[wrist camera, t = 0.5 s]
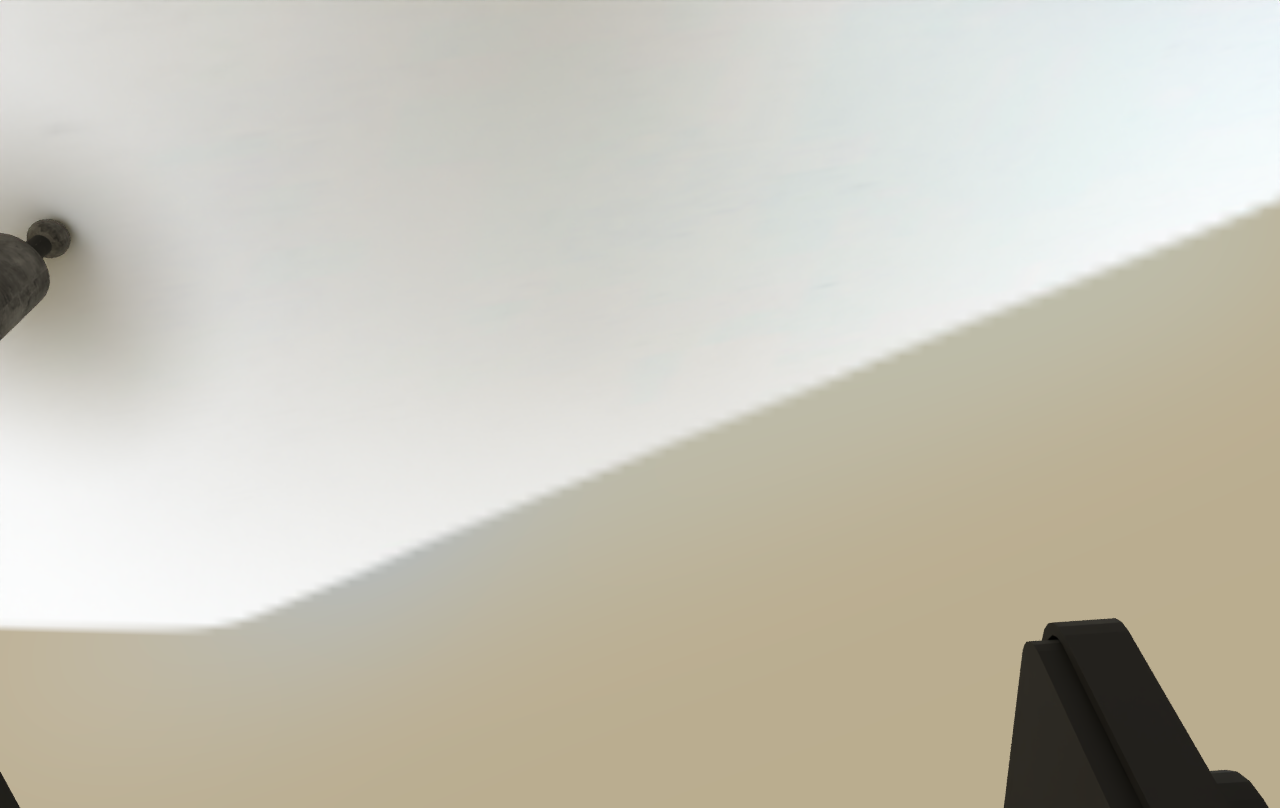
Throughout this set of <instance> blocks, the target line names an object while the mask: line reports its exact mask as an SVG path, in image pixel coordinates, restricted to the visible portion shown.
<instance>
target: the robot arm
mask: <svg viewBox="0 0 1280 808" xmlns="http://www.w3.org/2000/svg"><path fill="white" fill-rule="evenodd" d="M0 808H20V807H19V805H18V803H17V801H16V800H15V798H14V796H13V794H12V792H11V791H10V789H9V787H8V785H7V783H6V781H5V779H4V778H3V776H2V774H1V772H0ZM1004 808H1268V806H1267V805H1266V803H1265V801H1264V799H1263V798H1262V797H1261V795H1260V794H1259V793H1258V791H1257V790H1256V789H1255V787H1254V786H1253V785H1252V783H1251V782H1250V781H1249V780H1247V779H1246V778H1245V777H1244V776H1242V775H1241V774H1240V773H1238V772H1236V771H1229V770H1218V771H1209V769H1208V767H1207V765H1206V764H1205V762H1204V760H1203V759H1202V757H1201V755H1200V753H1199V752H1198V750H1197V748H1196V747H1195V745H1194V743H1193V741H1192V740H1191V738H1190V736H1189V734H1188V733H1187V731H1186V729H1185V728H1184V726H1183V724H1182V722H1181V721H1180V719H1179V717H1178V716H1177V714H1176V712H1175V710H1174V709H1173V707H1172V705H1171V704H1170V702H1169V700H1168V698H1167V697H1166V695H1165V693H1164V691H1163V690H1162V688H1161V686H1160V685H1159V683H1158V681H1157V679H1156V678H1155V676H1154V674H1153V672H1152V671H1151V669H1150V667H1149V666H1148V664H1147V662H1146V660H1145V659H1144V657H1143V655H1142V654H1141V652H1140V650H1139V648H1138V647H1137V645H1136V643H1135V642H1134V640H1133V638H1132V636H1131V634H1130V633H1129V631H1128V630H1127V628H1126V627H1125V626H1124V624H1123V623H1122V622H1121V621H1119V620H1118V619H1116V618H1112V619H1099V620H1083V621H1070V622H1055V623H1049V624H1048V625H1047V626H1046V628H1045V629H1044V634H1043V638H1042V641H1029V642H1026V644H1025V645H1024V648H1023V653H1022V661H1021V669H1020V677H1019V686H1018V694H1017V702H1016V711H1015V719H1014V727H1013V737H1012V744H1011V752H1010V761H1009V770H1008V777H1007V786H1006V795H1005V803H1004Z"/></svg>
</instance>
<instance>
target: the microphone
mask: <svg viewBox="0 0 1280 808" xmlns="http://www.w3.org/2000/svg"><path fill="white" fill-rule="evenodd" d="M69 245H70V235H69V232H68V230H67V229H66V228H65V227H64V226H63V225H62V224H61V223H59V222H57V221H54V220H50V219H45V220H40V221H37V222H35V223H34V224H33V225H32V226H31V227H30V228H29V230H28V233H27V241H26V242H25V241H23V240H21V239H19V238H17V237H14V236H12V235H8V234H3V233H0V340H1V339H2V338H3V337H4V336H5V335H6V334H7V333H8V332H9V331H10V330H11V329H12V328H14V327H15V326H16V325H17V324H18V323H19V322H20V321H21V320H22V319H23V318H24V317H25V316H26V315H27V314H28V313H29V312H30V311H31V310H32V309H33V308H34V307H35V306H36V305H37V304H38V303H39V302H40V301H41V300H42V299H43V298H44V296H45V295H46V293H47V291H48V288H49V283H50V280H49V273H48V269H47V266H46V264H45V262H44V260H43V259H42V258H43V257H46V258H54V257H58V256H60V255H62V254H64V253H65V252H66V250H67V249H68V247H69Z"/></svg>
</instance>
